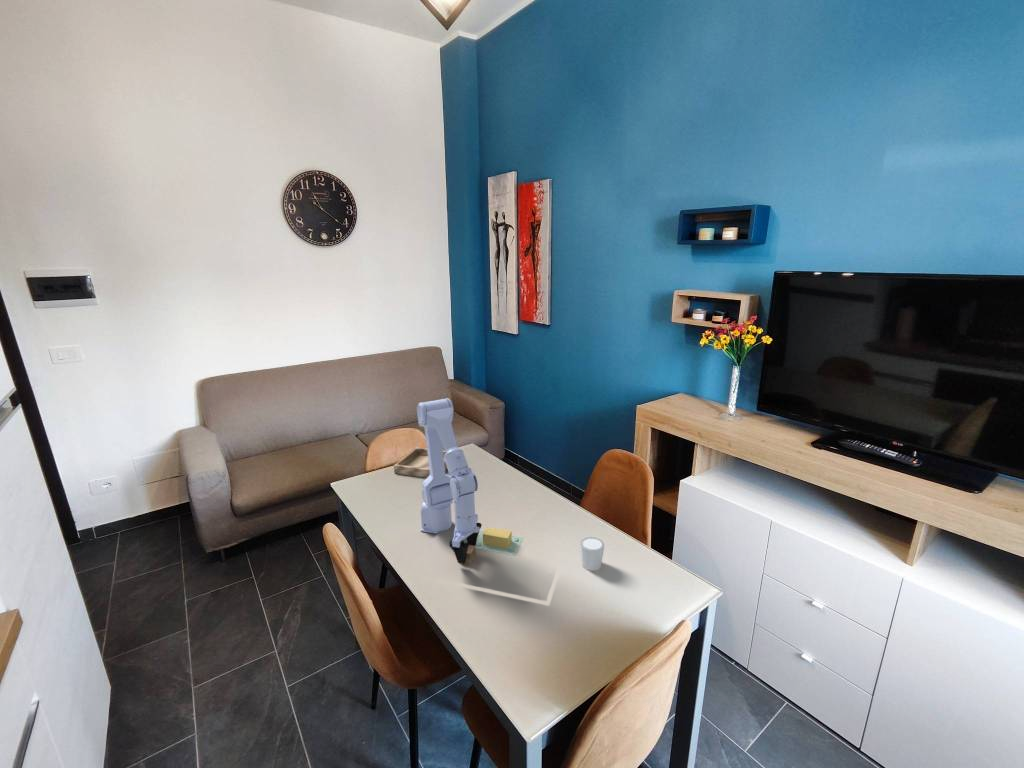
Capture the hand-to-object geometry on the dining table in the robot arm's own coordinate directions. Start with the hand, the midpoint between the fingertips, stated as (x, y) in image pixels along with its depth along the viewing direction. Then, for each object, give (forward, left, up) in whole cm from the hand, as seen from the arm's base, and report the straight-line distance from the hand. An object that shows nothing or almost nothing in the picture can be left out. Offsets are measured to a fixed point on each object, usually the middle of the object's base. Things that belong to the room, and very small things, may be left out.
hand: (466, 554), depth 137 cm
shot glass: (+35, +9, -3) cm, 36 cm away
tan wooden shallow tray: (-41, +54, -2) cm, 68 cm away
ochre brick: (+6, +10, -1) cm, 12 cm away
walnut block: (0, 0, -3) cm, 3 cm away
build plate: (+6, +10, -2) cm, 12 cm away
